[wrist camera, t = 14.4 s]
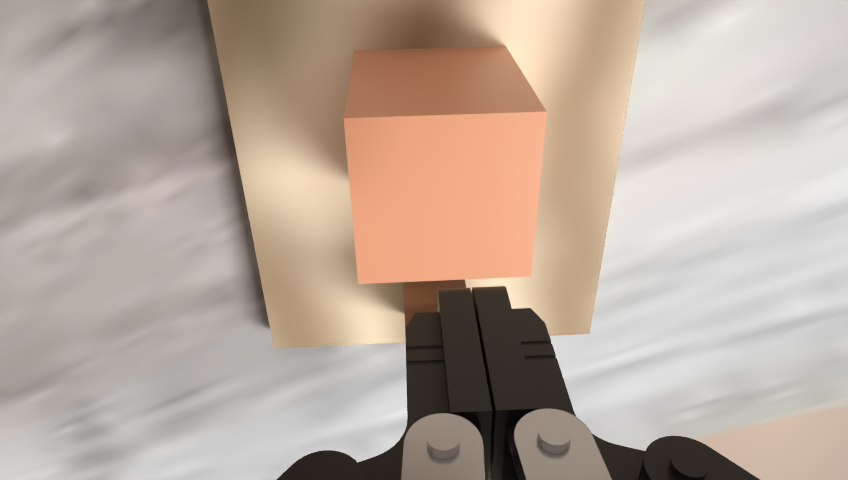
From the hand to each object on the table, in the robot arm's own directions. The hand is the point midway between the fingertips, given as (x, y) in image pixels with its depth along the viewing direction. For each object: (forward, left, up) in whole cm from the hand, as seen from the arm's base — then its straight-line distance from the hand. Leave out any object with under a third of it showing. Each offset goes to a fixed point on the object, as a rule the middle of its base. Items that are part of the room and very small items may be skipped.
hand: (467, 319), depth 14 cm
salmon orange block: (0, 0, -12) cm, 12 cm away
